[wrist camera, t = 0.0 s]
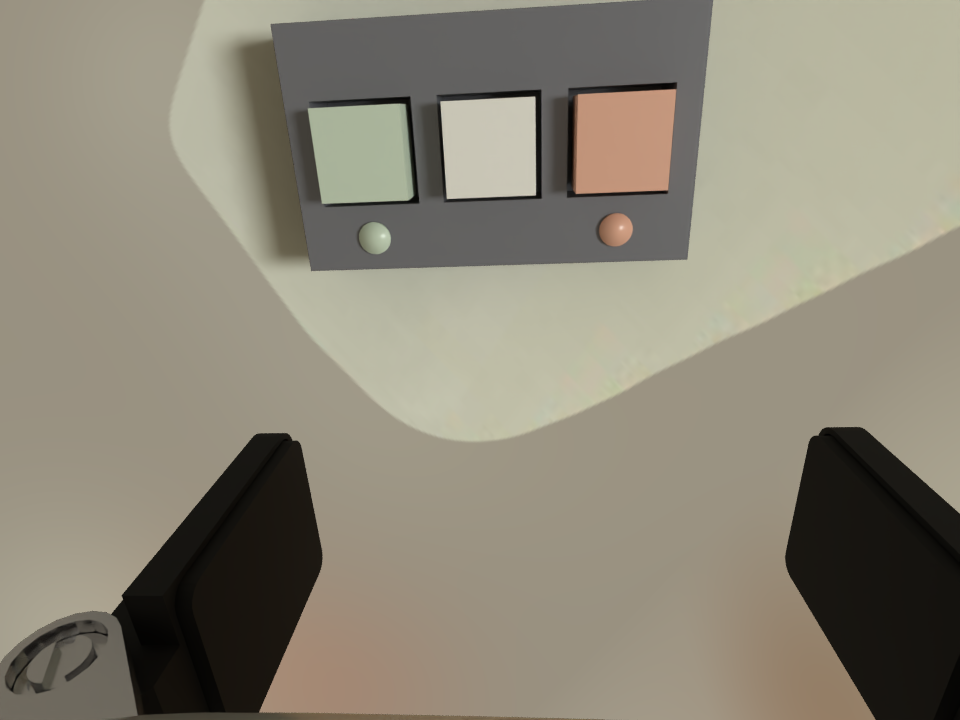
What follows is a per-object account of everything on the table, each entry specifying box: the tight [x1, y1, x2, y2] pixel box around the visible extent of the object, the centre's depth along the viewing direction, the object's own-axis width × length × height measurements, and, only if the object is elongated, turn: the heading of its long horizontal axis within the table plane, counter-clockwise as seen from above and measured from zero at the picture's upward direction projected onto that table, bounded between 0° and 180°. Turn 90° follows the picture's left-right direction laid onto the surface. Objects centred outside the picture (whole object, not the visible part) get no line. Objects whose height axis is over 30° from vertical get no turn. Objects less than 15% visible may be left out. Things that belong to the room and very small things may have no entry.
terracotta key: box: [571, 89, 676, 194], centre depth 33 cm, size 5×5×3 cm
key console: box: [271, 0, 713, 271], centre depth 35 cm, size 14×24×5 cm, turn 93°
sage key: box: [308, 104, 416, 204], centre depth 34 cm, size 5×5×3 cm
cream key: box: [440, 97, 536, 199], centre depth 33 cm, size 5×5×3 cm
